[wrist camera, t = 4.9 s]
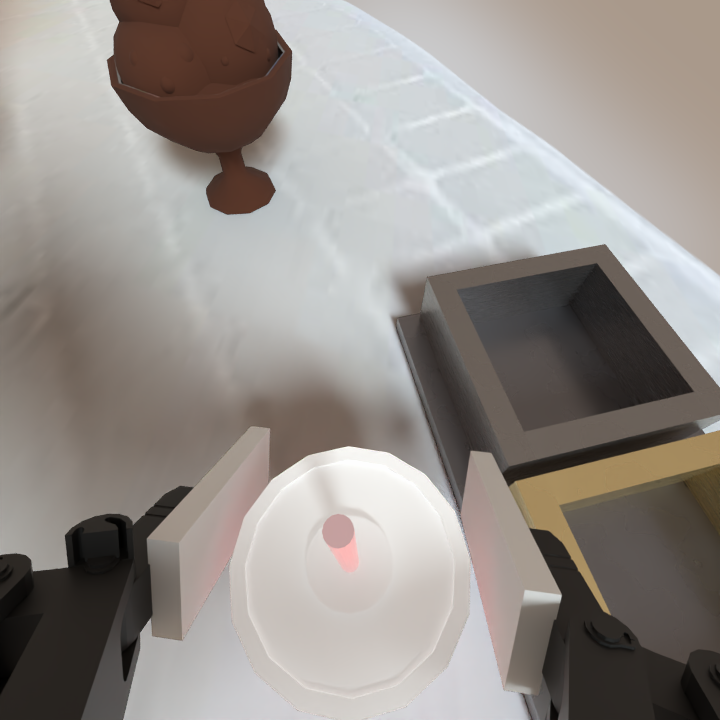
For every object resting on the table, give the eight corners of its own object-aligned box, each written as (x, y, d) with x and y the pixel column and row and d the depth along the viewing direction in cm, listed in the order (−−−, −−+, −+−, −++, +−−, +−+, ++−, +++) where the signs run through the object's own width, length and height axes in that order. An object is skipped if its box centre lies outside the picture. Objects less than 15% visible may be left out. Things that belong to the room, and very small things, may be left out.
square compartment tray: (396, 327, 25) (402, 277, 21) (586, 290, 26) (623, 236, 23) (571, 831, 14) (650, 918, 10) (886, 719, 15) (1063, 757, 11)
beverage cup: (418, 507, 19) (502, 349, 7) (434, 665, 16) (627, 833, 4) (292, 511, 19) (173, 358, 7) (282, 670, 16) (47, 851, 4)
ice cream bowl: (186, 256, 29) (42, -28, 16) (164, 169, 34) (44, -92, 21) (326, 217, 31) (298, -62, 18) (284, 141, 36) (239, -113, 23)
